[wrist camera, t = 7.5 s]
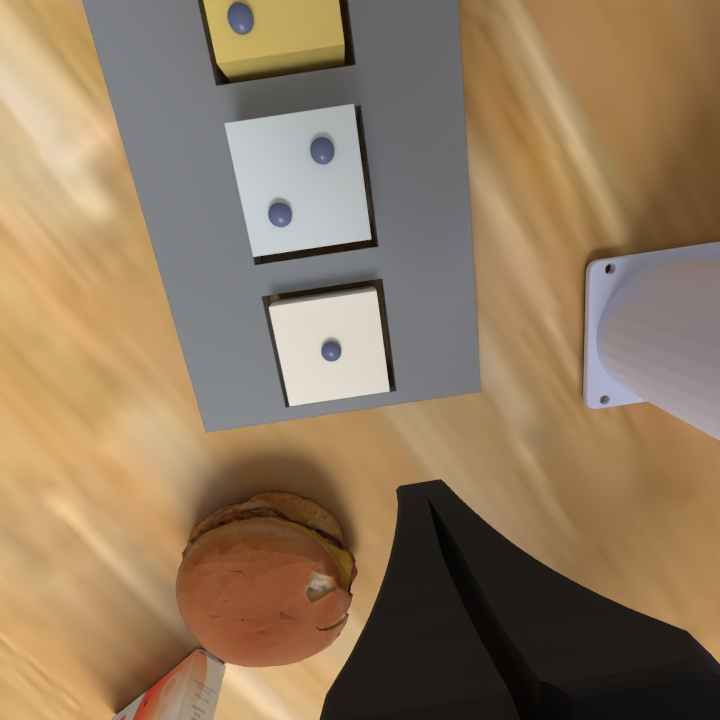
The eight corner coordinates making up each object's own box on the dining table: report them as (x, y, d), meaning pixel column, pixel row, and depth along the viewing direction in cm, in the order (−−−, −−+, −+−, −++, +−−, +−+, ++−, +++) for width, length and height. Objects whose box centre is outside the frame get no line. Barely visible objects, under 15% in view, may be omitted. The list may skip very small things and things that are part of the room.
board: (438, -125, 16) (449, -164, 14) (471, 380, 22) (480, 391, 20) (81, -70, 16) (52, -103, 14) (215, 418, 22) (205, 432, 20)
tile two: (352, 118, 17) (354, 102, 15) (368, 238, 18) (371, 239, 16) (237, 135, 17) (222, 122, 15) (262, 254, 18) (252, 257, 16)
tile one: (373, 285, 20) (377, 291, 18) (385, 377, 21) (390, 393, 19) (275, 300, 20) (267, 307, 18) (294, 391, 21) (289, 408, 19)
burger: (162, 561, 25) (124, 632, 20) (255, 456, 23) (234, 509, 18) (291, 635, 27) (281, 714, 23) (383, 545, 25) (393, 612, 21)
